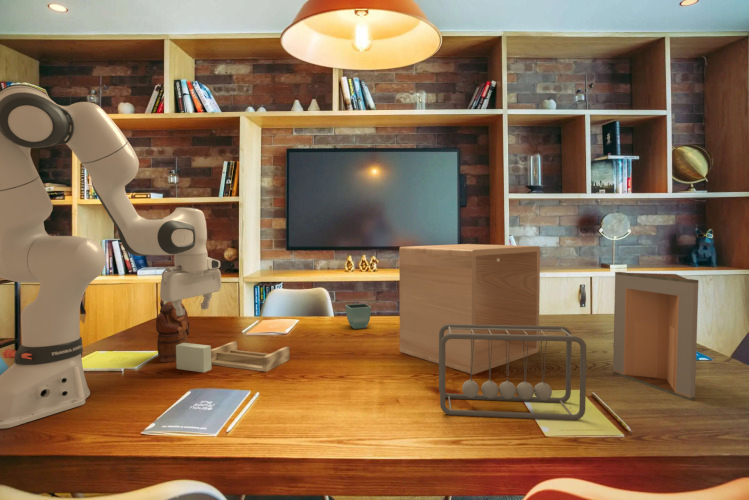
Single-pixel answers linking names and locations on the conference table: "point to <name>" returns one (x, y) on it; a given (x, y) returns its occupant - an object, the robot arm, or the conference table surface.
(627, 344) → the cabinet
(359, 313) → the flower pot
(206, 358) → the cream rectangular block
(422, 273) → the storage cube
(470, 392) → the newton's cradle
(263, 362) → the track frame
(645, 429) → the conference table surface
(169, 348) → the wooden figurine
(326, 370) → the conference table surface
